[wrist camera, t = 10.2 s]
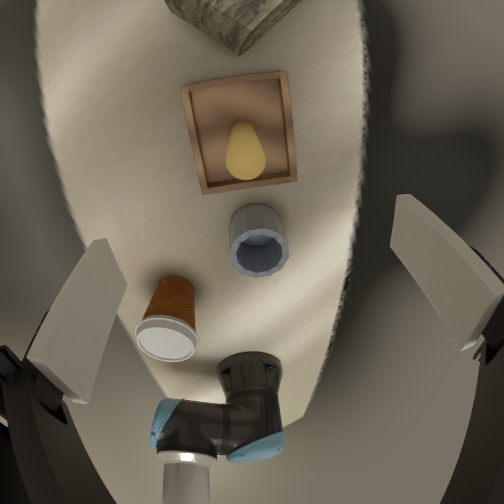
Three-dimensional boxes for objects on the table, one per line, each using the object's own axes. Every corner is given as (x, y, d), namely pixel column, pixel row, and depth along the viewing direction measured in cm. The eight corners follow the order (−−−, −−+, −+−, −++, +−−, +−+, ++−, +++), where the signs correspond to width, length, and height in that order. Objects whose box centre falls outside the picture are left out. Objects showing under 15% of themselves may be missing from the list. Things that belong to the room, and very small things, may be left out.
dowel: (255, 140, 32) (268, 177, 19) (232, 143, 32) (229, 182, 19) (252, 118, 30) (263, 139, 18) (229, 122, 30) (222, 145, 18)
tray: (293, 175, 36) (297, 181, 34) (204, 188, 36) (202, 195, 34) (283, 72, 28) (286, 71, 26) (183, 86, 28) (180, 86, 26)
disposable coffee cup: (189, 261, 43) (178, 319, 33) (211, 302, 48) (208, 359, 38) (139, 276, 44) (120, 330, 34) (165, 313, 49) (154, 366, 39)
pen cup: (281, 243, 42) (289, 272, 36) (234, 250, 42) (235, 280, 36) (278, 200, 38) (286, 225, 32) (226, 207, 38) (225, 233, 32)
